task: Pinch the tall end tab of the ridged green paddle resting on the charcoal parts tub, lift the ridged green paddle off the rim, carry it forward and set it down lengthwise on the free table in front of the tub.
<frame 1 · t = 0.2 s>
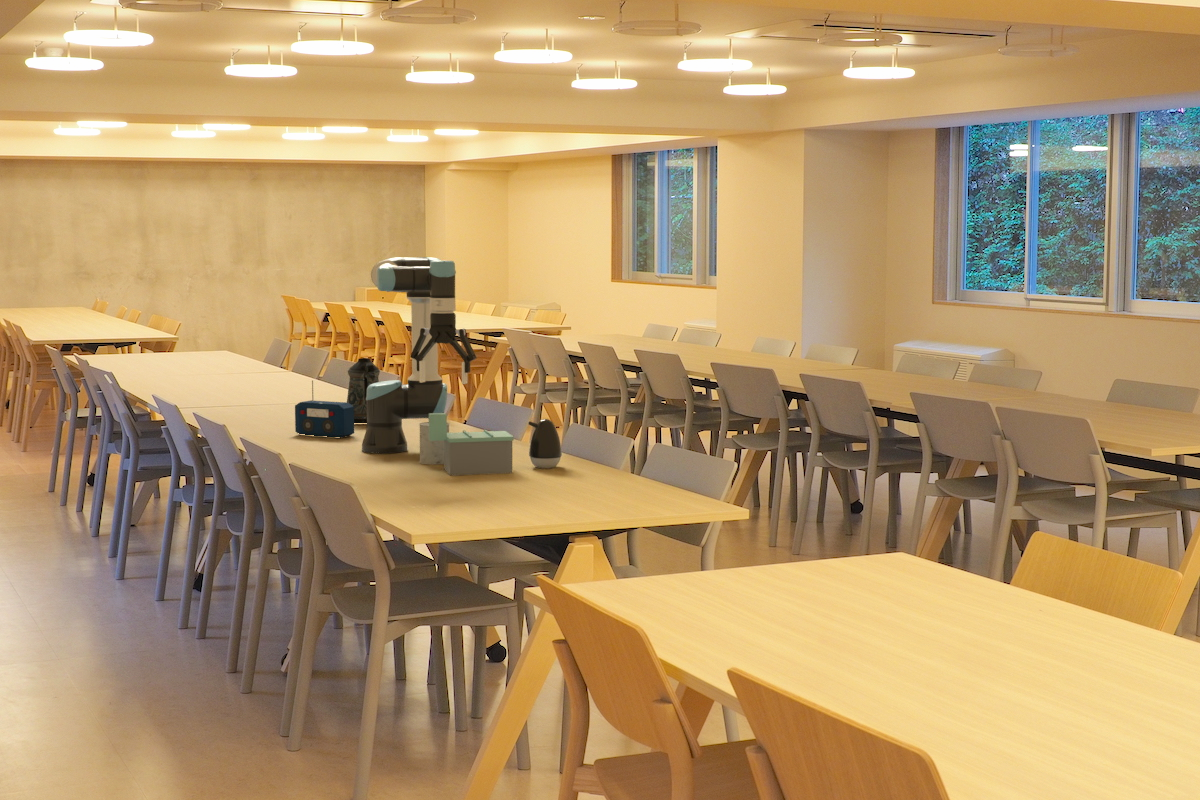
hand: (443, 383, 386), 27 cm above the table, fingers open, 13 cm apart
pump dispenser: (545, 467, 401), on the table
tub: (478, 470, 394), on the table
radio: (324, 436, 466), on the table
beer stein: (367, 422, 503), on the table
grey speckled cylinder: (434, 462, 410), on the table
ridged green paddle: (477, 438, 392), point 10 cm above the table, touching tub
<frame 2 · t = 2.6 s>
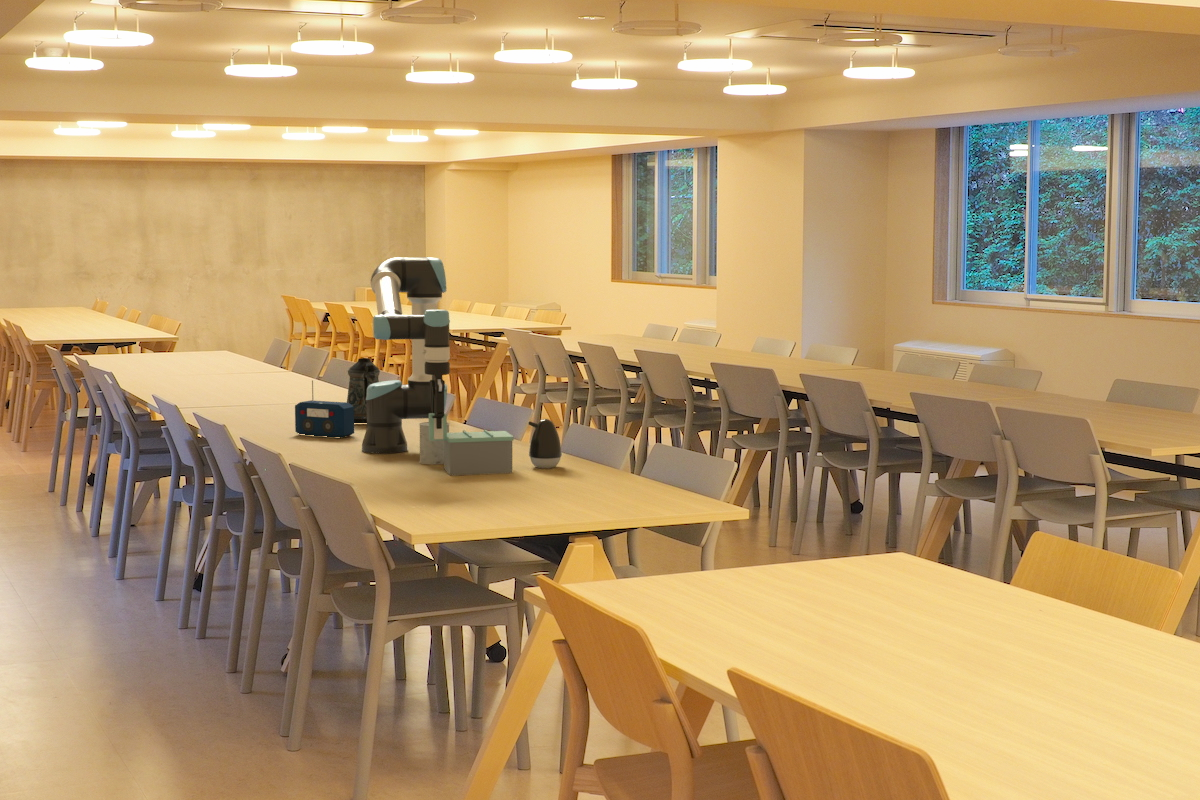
hand: (437, 438, 389), 11 cm above the table, fingers closed on ridged green paddle, 3 cm apart
ridged green paddle: (477, 438, 392), point 10 cm above the table, touching gripper, tub
everything else where it was.
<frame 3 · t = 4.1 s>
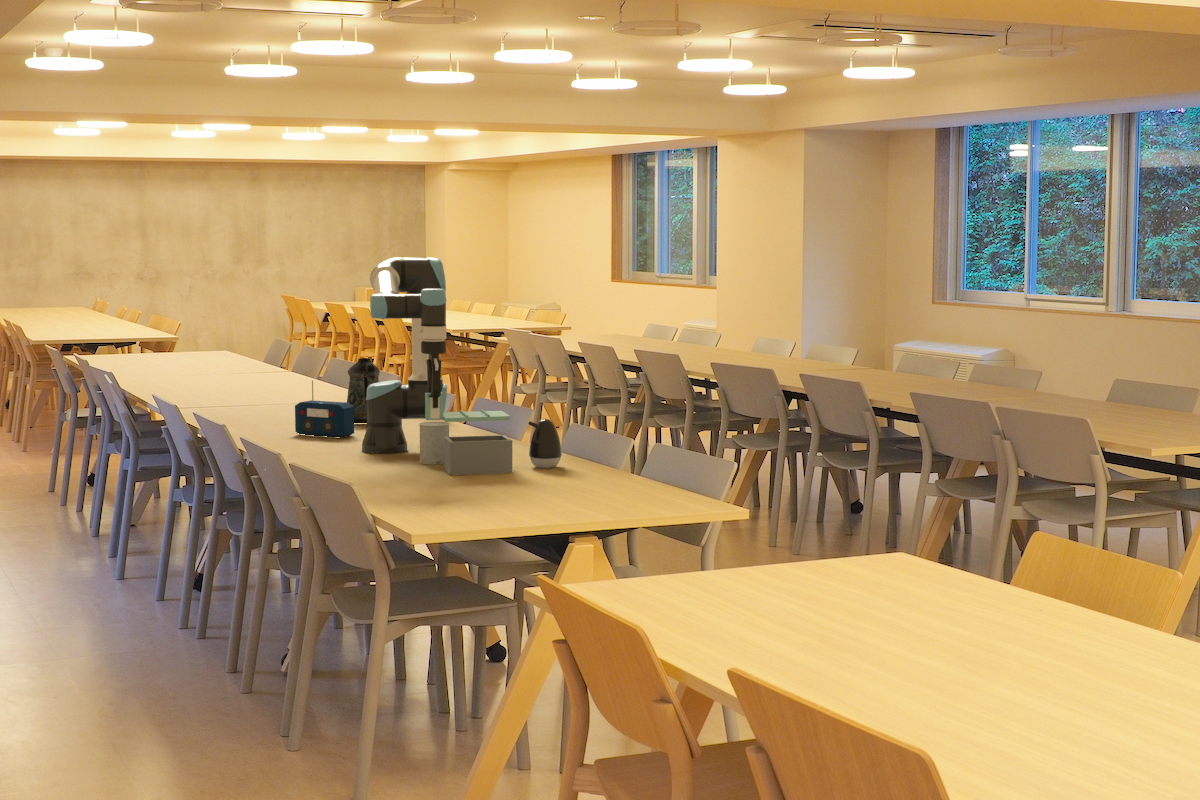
hand: (434, 417, 388), 17 cm above the table, fingers closed on ridged green paddle, 3 cm apart
ridged green paddle: (474, 418, 392), point 16 cm above the table, touching gripper
everything else where it was.
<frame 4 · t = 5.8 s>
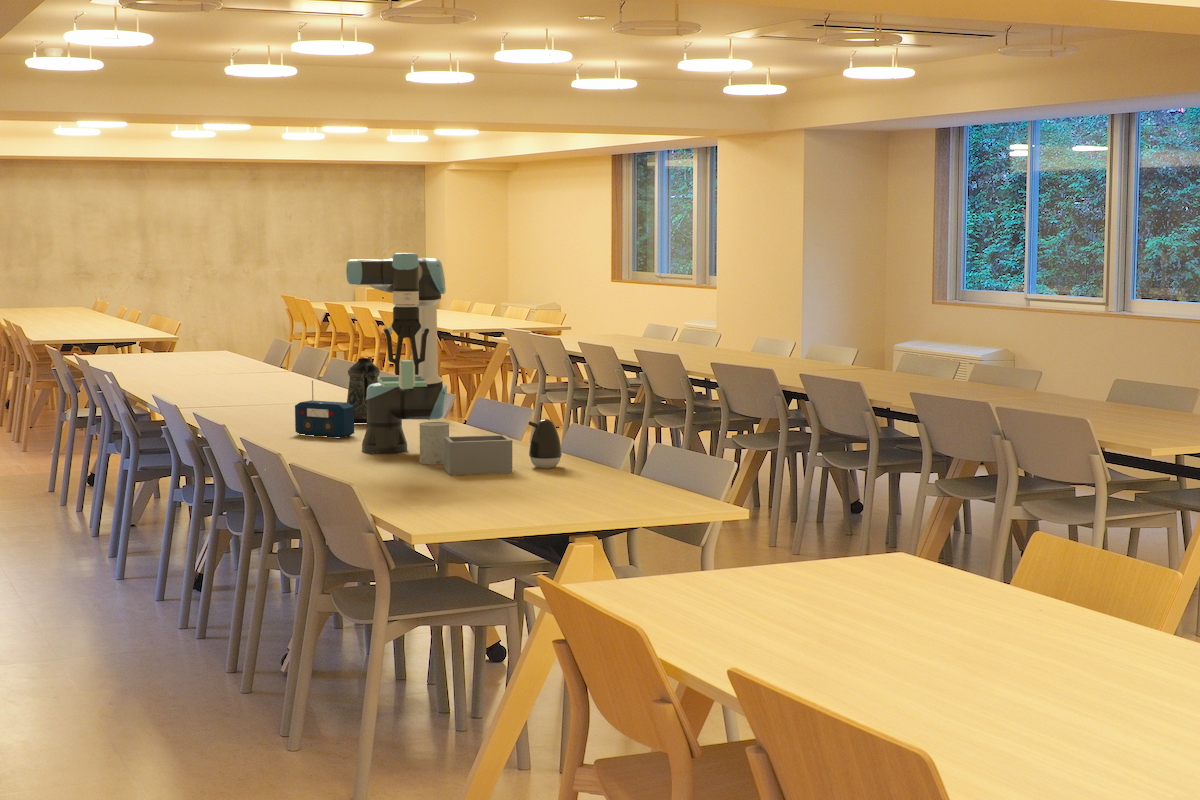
hand: (406, 386, 377), 27 cm above the table, fingers closed on ridged green paddle, 3 cm apart
ridged green paddle: (401, 383, 389), point 27 cm above the table, touching gripper
everything else where it was.
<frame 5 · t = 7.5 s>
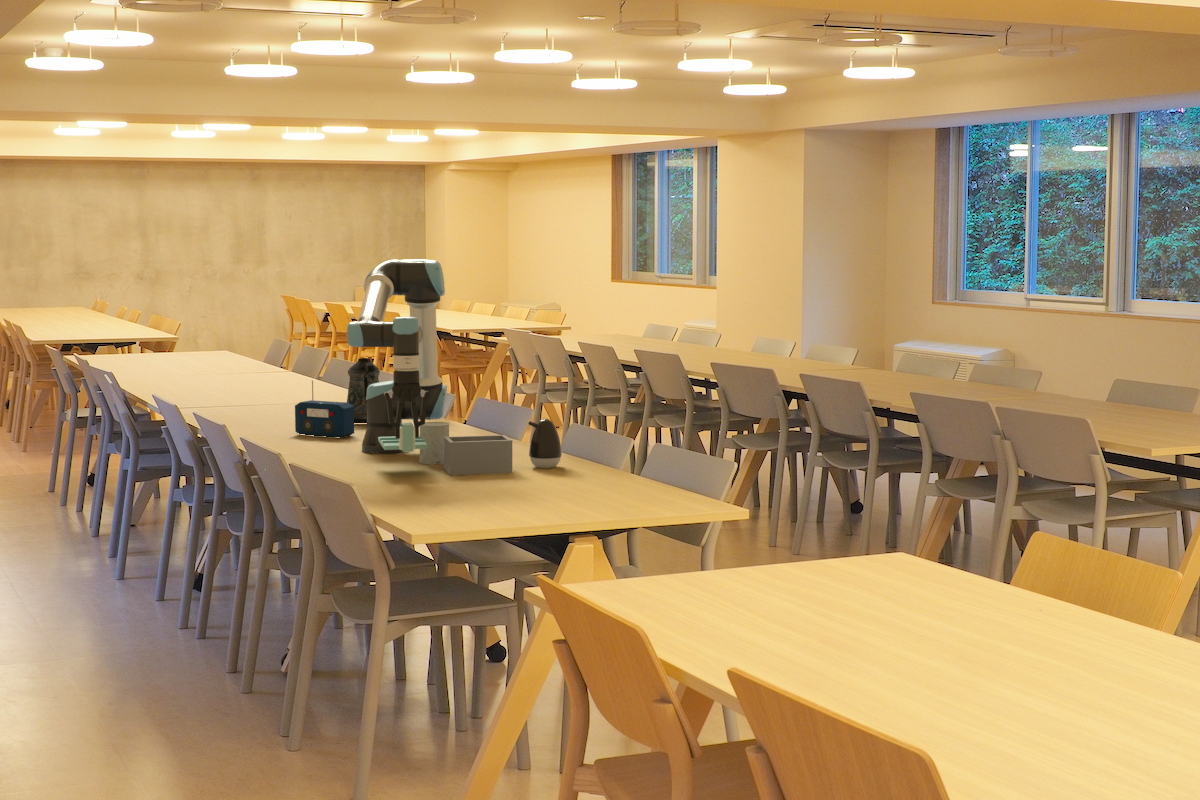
hand: (407, 448, 379), 9 cm above the table, fingers closed on ridged green paddle, 3 cm apart
ridged green paddle: (402, 444, 391), point 8 cm above the table, touching gripper
everything else where it was.
when the fingers open (2 cm above the table, at t = 8.9 s): ridged green paddle drops 2 cm, on the table.
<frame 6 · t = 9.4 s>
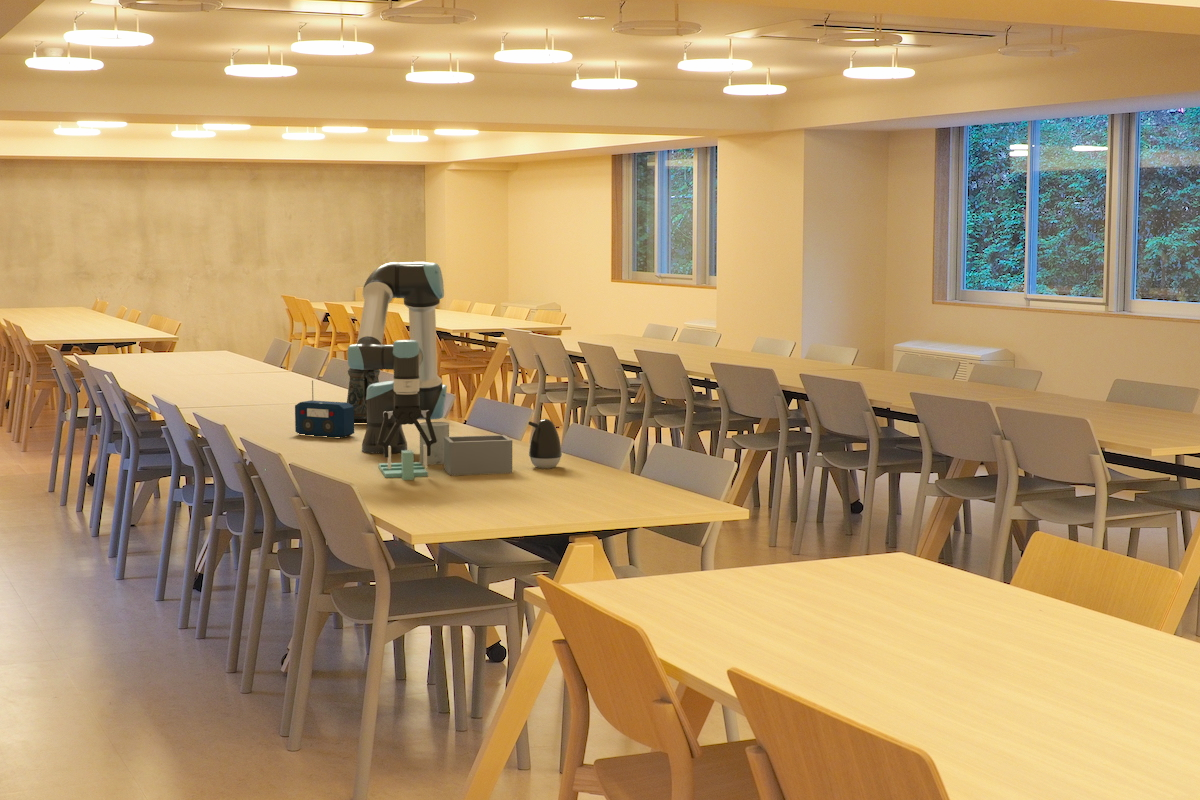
hand: (407, 467, 380), 3 cm above the table, fingers open, 10 cm apart
ridged green paddle: (402, 471, 392), on the table
everything else where it was.
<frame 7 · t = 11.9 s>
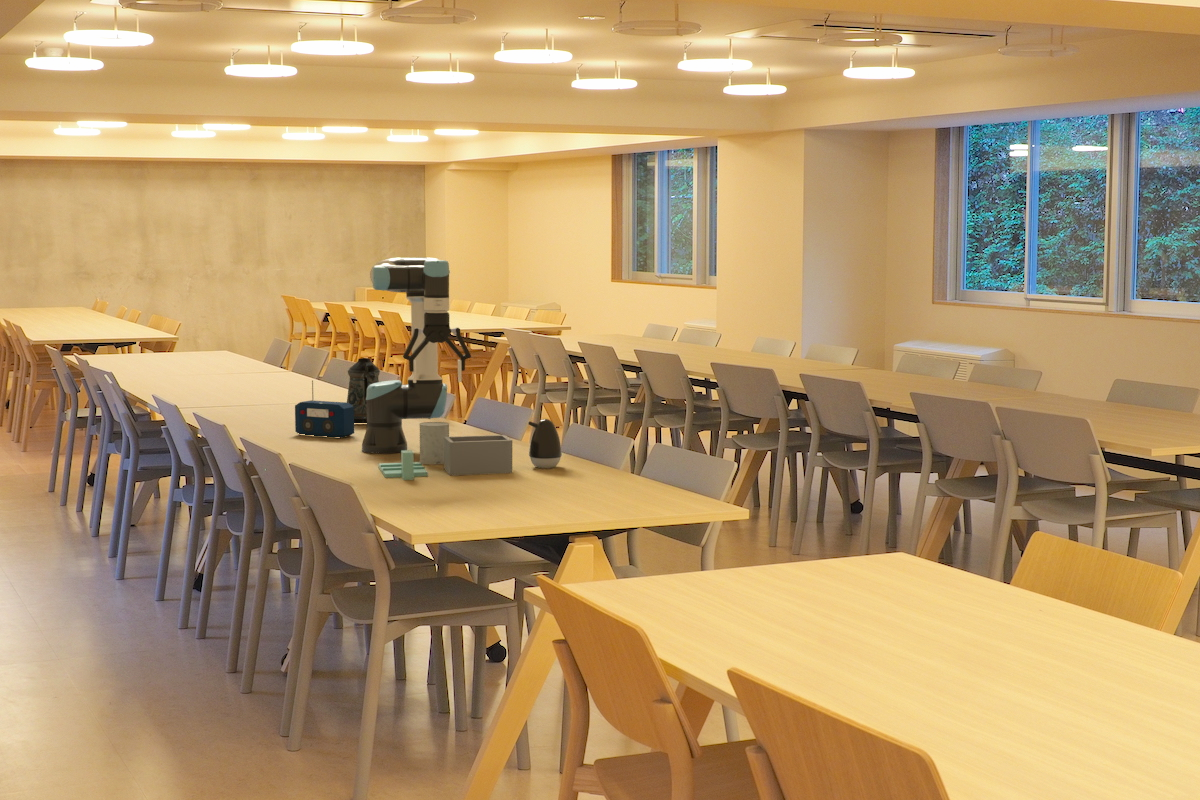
hand: (437, 382, 388), 28 cm above the table, fingers open, 13 cm apart
nothing on the table moved.
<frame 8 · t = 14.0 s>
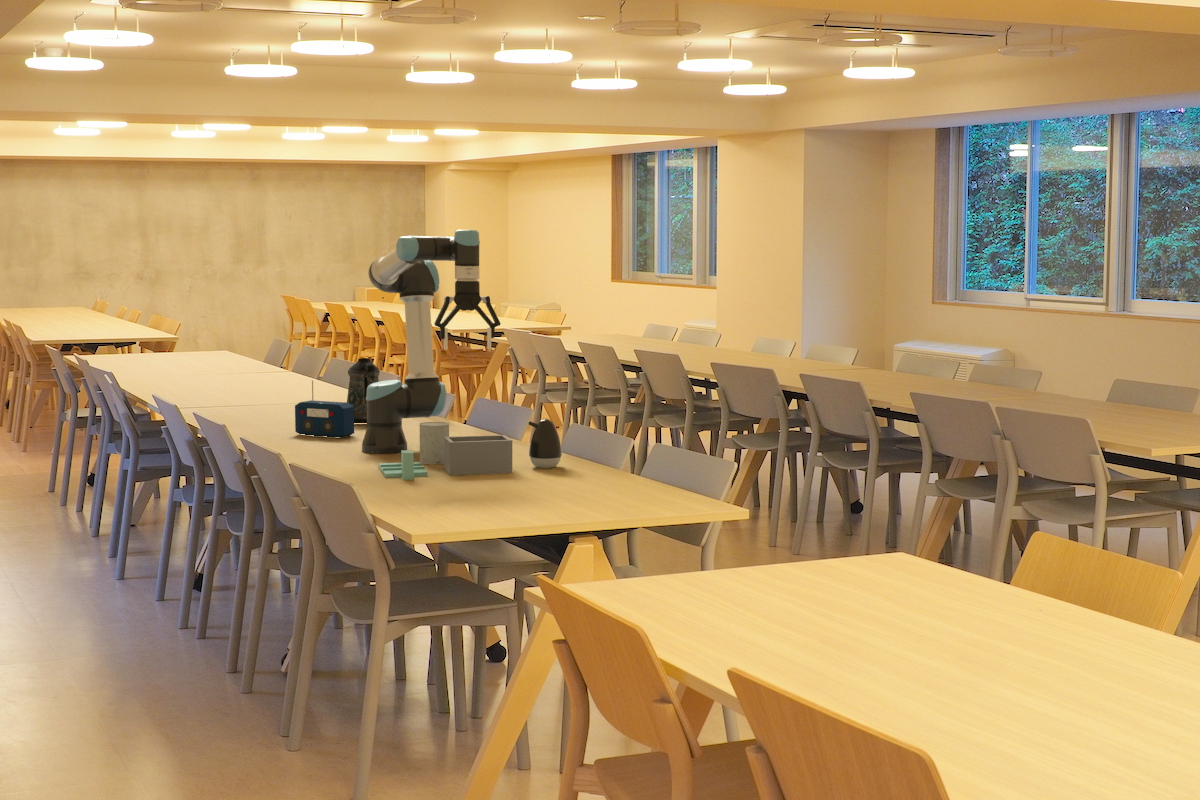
hand: (467, 349, 398), 37 cm above the table, fingers open, 13 cm apart
nothing on the table moved.
at the end: ridged green paddle inside the target area (0.9 cm from its centre), on the table; ridged green paddle touching table; ridged green paddle tilted 0° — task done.
